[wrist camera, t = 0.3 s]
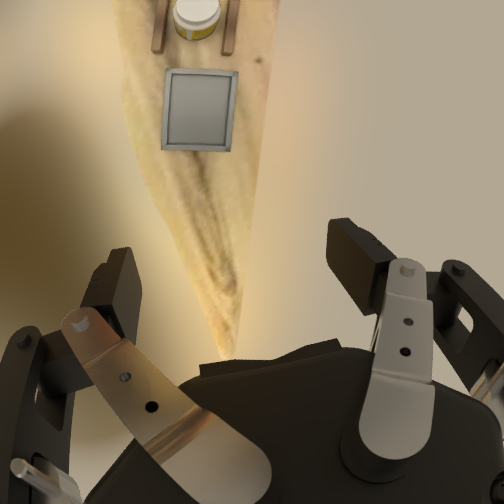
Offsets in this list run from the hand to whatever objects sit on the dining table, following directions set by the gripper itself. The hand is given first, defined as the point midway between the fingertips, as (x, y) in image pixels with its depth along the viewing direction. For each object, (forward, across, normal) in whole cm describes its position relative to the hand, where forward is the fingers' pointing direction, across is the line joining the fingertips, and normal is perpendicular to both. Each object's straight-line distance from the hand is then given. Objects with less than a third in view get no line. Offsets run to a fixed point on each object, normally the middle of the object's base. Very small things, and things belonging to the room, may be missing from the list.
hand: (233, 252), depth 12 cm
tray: (+27, 0, -4) cm, 27 cm away
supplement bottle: (+28, 0, -15) cm, 31 cm away
